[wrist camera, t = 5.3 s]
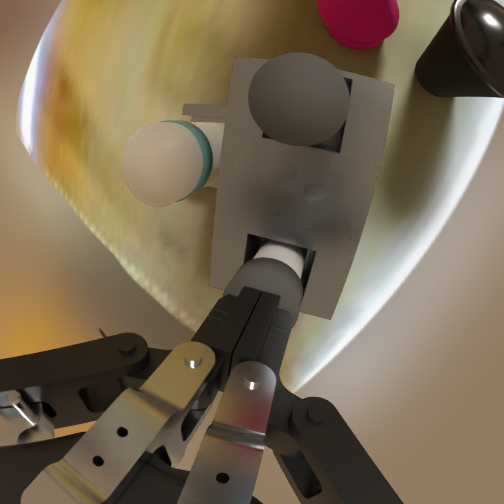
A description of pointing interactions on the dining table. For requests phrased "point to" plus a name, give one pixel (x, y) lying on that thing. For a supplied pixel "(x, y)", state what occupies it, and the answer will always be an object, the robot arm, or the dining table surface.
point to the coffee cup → (172, 160)
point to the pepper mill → (359, 21)
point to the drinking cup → (466, 52)
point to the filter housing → (295, 186)
